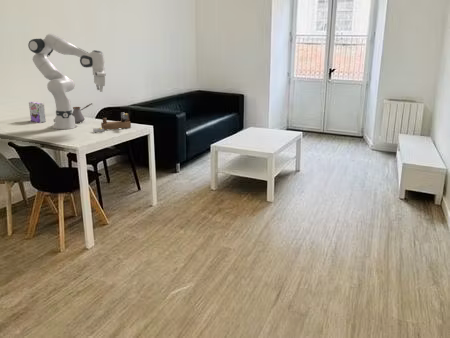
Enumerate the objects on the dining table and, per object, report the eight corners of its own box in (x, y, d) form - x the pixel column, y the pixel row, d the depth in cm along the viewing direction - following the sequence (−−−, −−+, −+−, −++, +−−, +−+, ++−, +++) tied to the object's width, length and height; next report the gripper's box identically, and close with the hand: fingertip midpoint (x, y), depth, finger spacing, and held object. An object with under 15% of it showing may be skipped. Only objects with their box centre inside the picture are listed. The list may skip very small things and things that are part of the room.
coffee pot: (75, 124, 343) (73, 106, 339) (68, 122, 350) (66, 104, 346) (97, 120, 358) (96, 103, 354) (90, 119, 366) (89, 102, 361)
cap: (93, 132, 318) (93, 127, 317) (104, 131, 320) (104, 127, 319) (93, 133, 314) (93, 128, 313) (104, 132, 316) (103, 128, 315)
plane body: (101, 128, 329) (100, 115, 325) (128, 126, 340) (127, 113, 336) (103, 130, 323) (102, 116, 320) (130, 128, 334) (130, 114, 330)
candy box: (30, 120, 352) (28, 101, 347) (37, 120, 356) (34, 101, 351) (39, 123, 344) (37, 103, 339) (46, 122, 349) (44, 102, 344)
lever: (124, 124, 323) (124, 113, 320) (120, 121, 333) (120, 111, 331) (128, 123, 324) (128, 113, 322) (124, 120, 335) (124, 110, 332)
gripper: (91, 71, 319) (92, 89, 323) (97, 73, 302) (98, 92, 306) (99, 71, 322) (100, 89, 326) (106, 73, 305) (107, 92, 309)
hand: (99, 90), depth 316 cm, fingers open, 8 cm apart
